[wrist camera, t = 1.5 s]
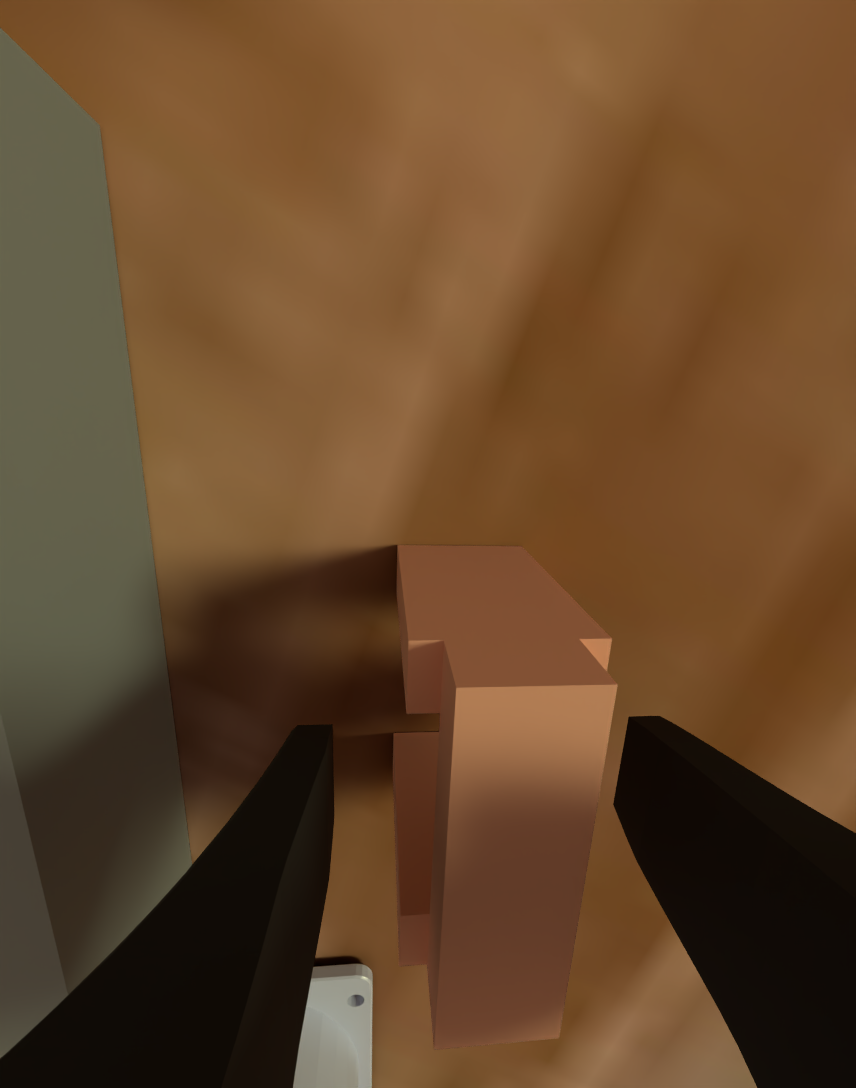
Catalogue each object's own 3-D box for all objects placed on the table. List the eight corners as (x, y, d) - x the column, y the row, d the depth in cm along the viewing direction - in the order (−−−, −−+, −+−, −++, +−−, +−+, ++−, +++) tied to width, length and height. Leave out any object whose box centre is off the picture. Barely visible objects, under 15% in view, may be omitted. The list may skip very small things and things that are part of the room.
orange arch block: (500, 766, 14) (588, 1034, 8) (392, 770, 13) (402, 1052, 7) (521, 546, 12) (656, 683, 6) (397, 544, 11) (414, 688, 6)
